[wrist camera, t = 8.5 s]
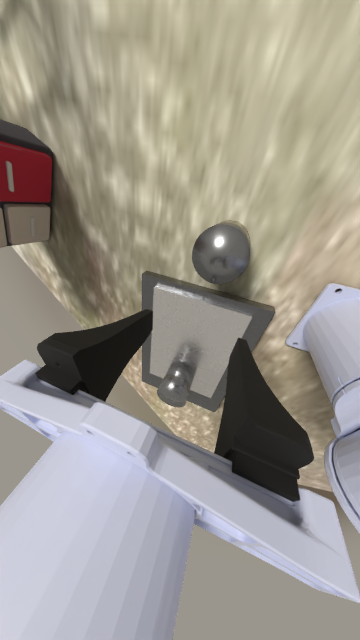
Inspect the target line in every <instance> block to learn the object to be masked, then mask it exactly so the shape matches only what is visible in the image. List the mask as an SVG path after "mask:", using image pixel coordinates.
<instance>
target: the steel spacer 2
mask: <svg viewBox="0 0 360 640" xmlns="http://www.w3.org/2000/svg"><path fill="white" fill-rule="evenodd" d="M249 256H250V237H249V234H248V231H247V230H246V228H245V227H244V226H243V225H242V224H240V223H239V222H236V221H231V220H229V221H223V222H221V223H219V224H216V225H214V226H212V227H210V228H208V229H207V230H205V231H204V232H203V233H202V234H201V235H200V236H199V237H198V239H197V240H196V242H195V244H194V247H193V252H192V260H193V265H194V267H195V269H196V271H197V273H198V274H199V275H200V276H201V277H202V278H203V279H205V280H206V281H208V282H211V283H215V284H224V283H228V282H231V281H233V280H234V279H236V278H237V277H239V276H240V275H241V274H242V272H243V271H244V270H245V268H246V266H247V264H248V261H249Z"/></svg>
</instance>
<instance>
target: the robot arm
mask: <svg viewBox="0 0 360 640" xmlns="http://www.w3.org/2000/svg"><path fill="white" fill-rule="evenodd" d="M339 288H341V289H340V291H338V292H335V290H336V289H339ZM152 330H153V311H152V310H148V309H145V310H143V311H141V312H138V313H136V314H134V315H132V316H129V317H127V318H125V319H122V320H119V321H117V322H114V323H111V324H108V325H104V326H101V327H96V328H92V329H87V330H81V331H74V332H65V333H55V334H53V335H52V336H50V337H48V338H47V339H45V340H44V341H42V342H41V343H39V344H38V346H37V350H38V352H39V354H40V356H41V357H42V359H43V361H44V362H45V364H46V365H45V366H44V367H42V368H41V367H40V366H39V365H37V364H35V363H33V362H30V361H28V360H24V361H23V362H21V363H20V364H18V365H17V366H15V367H14V368H12V369H11V370H9V371H8V372H6V373H5V374H3V375H2V376H0V408H1V409H2V410H3V411H5V412H7V413H8V414H10V415H12V416H13V417H15V418H17V419H18V420H20V421H22V422H23V423H25V424H26V425H28V426H30V427H31V428H33V429H34V430H36V431H38V432H39V433H41V434H42V435H44V436H45V437H47V438H49V439H50V440H52V441H53V442H54V443H53V444H52V445H51V446H50V448H49V449H48V450H47V451H46V452H45V453H44V455H43V456H42V457H41V458H40V459H39V461H38V462H37V463H36V464H35V465H34V467H33V468H32V469H31V470H30V471H29V473H28V474H27V475H26V476H25V477H24V478H23V480H22V481H21V482H20V483H19V485H18V486H17V487H16V488H15V489H14V490H13V492H12V493H11V494H10V495H9V497H8V498H7V499H6V500H5V501H4V502H3V503H2V505H1V506H0V640H173V634H174V629H175V623H176V617H177V612H178V607H179V600H180V595H181V590H182V585H183V579H184V573H185V568H186V562H187V557H188V551H189V546H190V540H191V535H192V529H193V524H195V525H197V526H200V527H201V528H203V529H205V530H207V531H209V532H211V533H213V534H215V535H217V536H218V537H220V538H222V539H224V540H226V541H228V542H230V543H232V544H234V545H235V546H237V547H239V548H241V549H243V550H245V551H247V552H249V553H251V554H253V555H255V556H256V557H258V558H260V559H262V560H264V561H266V562H268V563H269V564H271V565H273V566H275V567H277V568H279V569H280V570H282V571H284V572H286V573H288V574H290V575H291V576H293V577H295V578H297V579H298V580H300V581H302V582H304V583H306V584H307V585H309V586H311V587H313V588H314V589H317V590H320V591H323V592H327V593H330V594H332V595H336V596H339V597H342V598H345V599H348V600H352V601H355V602H358V603H360V595H359V591H358V587H357V584H356V580H355V576H354V573H353V569H352V566H351V562H350V559H349V555H348V552H347V548H346V545H345V541H344V537H343V534H342V531H341V528H340V523H339V520H338V516H337V513H336V509H335V505H334V503H333V502H332V501H331V500H329V499H327V498H325V497H323V496H321V495H319V494H316V493H314V492H312V491H310V490H308V489H305V488H298V483H297V479H299V478H300V475H299V470H298V469H299V468H301V467H304V466H306V465H308V464H310V463H311V462H312V461H313V459H314V455H313V451H312V447H311V443H310V440H309V437H308V434H307V433H306V431H305V430H304V429H303V428H302V427H301V426H300V425H299V424H298V423H297V422H296V421H295V420H294V419H293V418H292V416H291V415H290V414H289V413H288V412H287V410H286V409H285V408H284V407H283V406H282V404H281V403H280V402H279V401H278V399H277V398H276V396H275V395H274V394H273V392H272V391H271V390H270V388H269V387H268V385H267V383H266V382H265V380H264V378H263V377H262V375H261V373H260V371H259V369H258V367H257V365H256V363H255V360H254V358H253V356H252V353H251V351H250V348H249V345H248V342H247V340H245V339H241V338H238V339H237V341H236V344H235V346H234V348H233V350H232V352H231V355H230V358H229V363H228V370H227V384H226V396H225V402H224V408H223V413H222V419H221V424H220V429H219V433H218V438H217V443H216V447H215V452H214V453H212V452H210V451H208V450H206V449H204V448H202V447H200V446H198V445H195V444H193V443H191V442H189V441H187V440H185V439H183V438H181V437H178V436H176V435H174V434H172V433H170V432H168V431H166V430H164V429H161V428H159V427H157V426H155V425H153V424H151V423H149V422H147V421H144V420H142V419H140V418H138V417H136V416H134V415H132V414H129V413H127V412H125V411H123V410H121V409H119V408H117V407H115V406H113V405H110V404H108V403H106V402H105V401H106V398H107V397H108V395H109V393H110V392H111V390H112V388H113V386H114V384H115V383H116V381H117V379H118V378H119V376H120V375H121V373H122V371H123V370H124V368H125V367H126V365H127V364H128V362H129V361H130V359H131V358H132V357H133V355H134V354H135V353H136V352H137V350H138V349H139V348H140V347H141V346H142V344H143V343H144V342H145V341H146V339H147V338H148V336H149V335H150V333H151V331H152ZM295 342H296V344H293V343H295ZM286 344H287V345H289V346H292V347H295V348H298V349H301V350H304V351H307V352H310V354H311V357H312V359H313V362H314V364H315V367H316V369H317V372H318V374H319V376H320V379H321V381H322V384H323V386H324V389H325V391H326V394H327V396H328V398H329V401H330V403H331V406H332V408H333V410H334V417H333V419H331V420H330V422H331V425H332V427H333V430H334V433H335V435H336V438H335V439H333V440H331V441H330V442H329V443H328V445H327V447H326V448H325V453H324V464H325V470H326V474H327V477H328V480H329V483H330V485H331V487H332V490H333V492H334V494H335V496H336V497H337V500H338V502H339V504H340V506H341V507H342V509H343V510H344V512H345V514H346V515H347V516H348V518H349V520H350V521H351V523H352V524H353V525H354V527H355V528H356V529H357V531H358V532H359V534H360V289H357V288H353V287H348V286H344V285H340V284H336V283H330V284H328V285H327V286H326V287H325V288H324V289H323V290H322V292H321V293H320V294H319V296H318V297H317V299H316V300H315V301H314V303H313V304H312V305H311V307H310V308H309V309H308V311H307V312H306V313H305V315H304V316H303V317H302V319H301V320H300V321H299V323H298V324H297V325H296V327H295V328H294V329H293V331H292V332H291V333H290V335H289V336H288V337H287V339H286Z"/></svg>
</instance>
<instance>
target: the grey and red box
mask: <svg viewBox="0 0 360 640" xmlns="http://www.w3.org/2000/svg"><path fill="white" fill-rule="evenodd" d="M51 181H52V152H51V150H50V149H49V148H48V147H47V146H46V145H45V144H44V143H43V142H41V141H40V140H39V139H38V138H37V137H36V136H34V135H33V134H32V133H31V132H30V131H28V130H27V129H25V128H23V127H20V126H17V125H14V124H12V123H9V122H6V121H3V120H0V248H1V247H6V246H11V245H20V244H26V243H33V242H39V241H45V240H49V234H50V201H51Z"/></svg>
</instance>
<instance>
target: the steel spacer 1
mask: <svg viewBox="0 0 360 640" xmlns="http://www.w3.org/2000/svg"><path fill="white" fill-rule="evenodd" d="M194 376H195V371H194V369H193V368H192V367H191V366H190V365H188V364H187V363H185V362H181V361H175V362H172V363H171V365H170V367H169V369H168V371H167V373H166V374H165V376H164V378H163V380H162V382H161V384H160V386H159V388H158V390H157V394H158V396H159V398H160V399H161V400H162V401H164V402H165V403H167V404H168V405H171V406H174V407H183V406H184V405H185V403H186V400H187V397H188V394H189V391H190V388H191V385H192V382H193V379H194Z"/></svg>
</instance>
